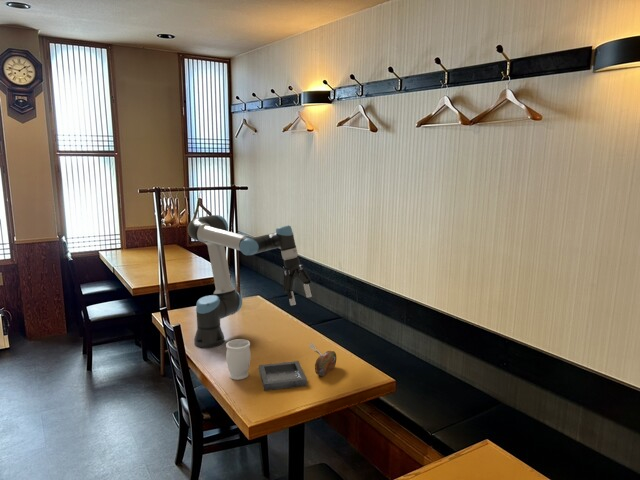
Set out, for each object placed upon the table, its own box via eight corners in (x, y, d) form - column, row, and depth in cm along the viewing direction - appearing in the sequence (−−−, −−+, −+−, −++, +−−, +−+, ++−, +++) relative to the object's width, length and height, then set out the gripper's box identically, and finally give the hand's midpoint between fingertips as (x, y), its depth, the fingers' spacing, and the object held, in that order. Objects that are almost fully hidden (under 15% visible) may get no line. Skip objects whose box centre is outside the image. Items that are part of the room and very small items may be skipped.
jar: (245, 382, 195) (245, 349, 192) (223, 380, 197) (221, 347, 194) (254, 371, 205) (253, 339, 202) (232, 369, 207) (231, 337, 205)
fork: (327, 366, 212) (327, 362, 211) (307, 346, 234) (307, 343, 233) (333, 365, 213) (333, 361, 213) (313, 345, 235) (313, 342, 234)
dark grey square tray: (259, 371, 205) (258, 365, 205) (298, 367, 210) (298, 361, 209) (264, 391, 188) (264, 384, 187) (307, 386, 192) (307, 379, 192)
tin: (319, 379, 198) (319, 361, 197) (313, 377, 200) (313, 359, 199) (337, 366, 211) (337, 348, 209) (331, 364, 213) (331, 347, 211)
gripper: (281, 262, 206) (292, 307, 207) (311, 251, 227) (321, 293, 228) (268, 264, 210) (279, 309, 211) (299, 254, 231) (309, 294, 232)
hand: (301, 301), depth 219 cm, fingers open, 13 cm apart
